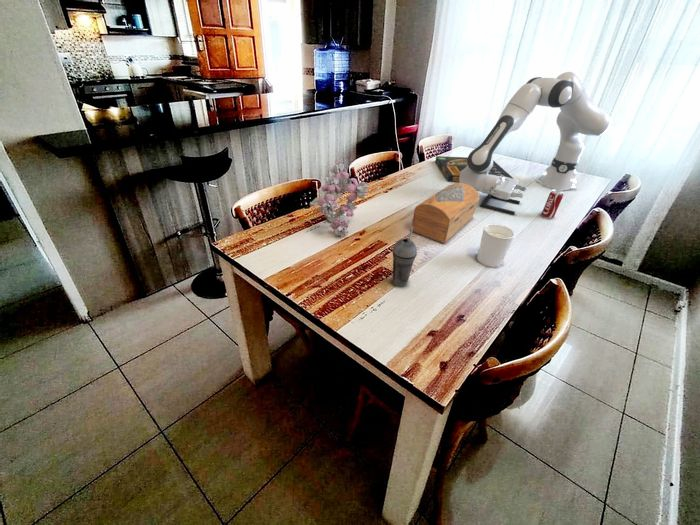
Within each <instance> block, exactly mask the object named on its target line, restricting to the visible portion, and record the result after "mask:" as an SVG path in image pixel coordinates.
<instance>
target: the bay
mask: <svg viewBox="0 0 700 525" xmlns="http://www.w3.org/2000/svg"><path fill="white" fill-rule="evenodd" d="M490 198H491V199H495V200H499V201H503V202H506V203H507V202H508V203H512V204H516V205H520V203H521V201H520V200H517V199H514V198H509V200H504V199H501V198H497V197H494V196H493V195H489V194H486V197H484V199H483V200H482V202H481V204H480V205H479V207H480V208H483V209H488V210H491V211H495V212H500V213H503V214H507V215H512V216H515V214H516V211H513V210H509V209H506V208H502V207H498V206H495V205H489V204H487V203H488V201H489V200H490Z"/></svg>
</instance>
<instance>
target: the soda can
mask: <svg viewBox="0 0 700 525" xmlns="http://www.w3.org/2000/svg"><path fill="white" fill-rule="evenodd" d="M563 198H564V191H563V190H557V189H551V191H550V192H549V195H548V196H547V199H546V201H545V204H544V206H543V209H542V210H541V213H540V214H541V217H542V218H545V219H547V220H552V219H554V218H555V216H556V214H557V211H558V209H559V207H560V204H561V202H562V200H563Z"/></svg>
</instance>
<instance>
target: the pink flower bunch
mask: <svg viewBox="0 0 700 525" xmlns="http://www.w3.org/2000/svg"><path fill="white" fill-rule="evenodd" d="M344 169H345V164H344V163H338V164H337V162H334V164H333V165H331V166H329V171H330V172H331V175H330V176H326V177H325V179H324V181H325V183H326V184H325V185H322V186H321V191H322V192H323V193H324V196H323V197H322V196H321V197H315V198H314V199H313V200H312V201H311V202H310V203H309V206H319V207H317V210H318V212H319V213H321V214H323V215H324V218H326V219H327V220H328V221H329V222H330V225H329V226H330V227H331V228H330V229H332V230H334V233H335V234H336V237H338V236H340V237H341V238H342V239H343V236H345V234H347V235H349V230H348V227H349V219H347V218H346V217H348V218H352V217H354V215H355V213H354V211H355V210H356V209H358V206H356V201H357V198H358V199H360V200H365V199H366V198H365V197H366V196H369V194H368V193H371V192H372V190H370V191H369V189H368V188H369V185H368V184H367V182H365V181H361V182H358V180H357V178H355V177H351V178H350V175H349V174H350V173H348V172H347V171H344ZM342 176H343V177H344V178H345V179H346V180H349V181H350V182H352V183H347V184H346V186H345V189H343V190H342ZM349 178H350V179H349ZM338 183H339V184H340V185H338ZM346 191H347V192H349V193H350V194H349V195H348V196H346V200H347V201H346V204H344V203H343V204H340V205H339V201H338V200H337V199H339V198H342V197H343V193H344V192H346ZM325 192H326V193H325ZM364 196H365V197H364ZM335 209H336V210H335Z"/></svg>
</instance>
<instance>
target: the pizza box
mask: <svg viewBox="0 0 700 525" xmlns="http://www.w3.org/2000/svg"><path fill="white" fill-rule="evenodd" d="M467 159H468V156H467V157H465V156H464V157H463V156H442V155H438V156H437V155H436V156H435V161H434V162H435V163H436V166H437V167H438V168H439V170H440V171H441V173H442V175H443V177H444V178H445V180H446V181H447V182H448V183H459V174H460V172H461V171H462V170H463V169H464V168H466V167H467V166H468V164H467ZM488 174H489V175H497V174H500V175H502V177H508V178H512V179H514V177H513V176H512V175H510V174H509V173H508V172H507V170H505V169H504V168H503V167H502V166H500V164H498V163H497V162H496V161H495V160H494V159H493V166H492V168H491V170H490V171H489V173H488Z"/></svg>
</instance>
